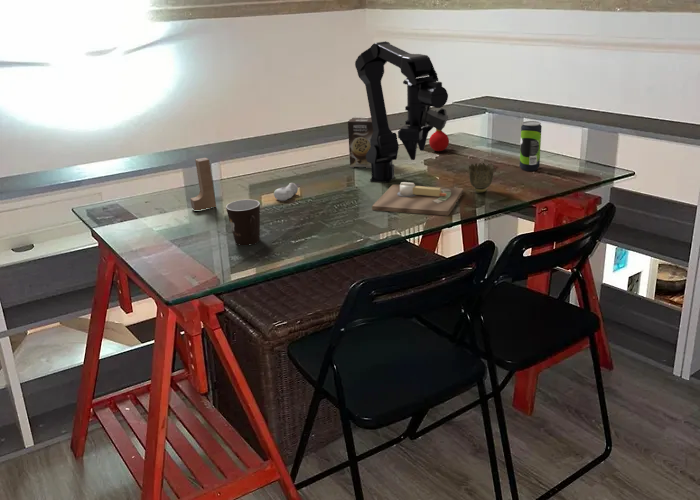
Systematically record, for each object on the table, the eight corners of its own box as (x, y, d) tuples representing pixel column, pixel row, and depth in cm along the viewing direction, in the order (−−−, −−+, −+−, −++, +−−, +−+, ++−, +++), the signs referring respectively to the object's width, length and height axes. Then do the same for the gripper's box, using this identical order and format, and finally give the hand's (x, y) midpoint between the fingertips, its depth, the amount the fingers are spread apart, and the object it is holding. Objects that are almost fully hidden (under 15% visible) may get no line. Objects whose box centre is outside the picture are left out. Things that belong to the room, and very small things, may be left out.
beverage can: (541, 167, 219) (544, 121, 213) (535, 172, 214) (538, 125, 208) (523, 165, 222) (525, 120, 216) (516, 170, 217) (518, 124, 211)
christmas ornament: (428, 153, 241) (428, 126, 238) (429, 148, 248) (429, 121, 244) (448, 153, 240) (448, 125, 236) (449, 148, 247) (449, 121, 243)
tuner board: (372, 210, 191) (371, 205, 190) (392, 188, 208) (392, 183, 207) (448, 215, 183) (448, 210, 183) (463, 192, 200) (463, 187, 200)
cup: (493, 196, 195) (494, 170, 192) (467, 196, 197) (467, 169, 194) (493, 188, 202) (494, 162, 199) (468, 188, 204) (468, 162, 200)
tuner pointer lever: (397, 195, 197) (397, 184, 196) (403, 190, 201) (402, 180, 200) (443, 199, 192) (443, 188, 190) (448, 194, 195) (448, 183, 194)
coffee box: (349, 167, 231) (346, 121, 225) (354, 162, 237) (352, 117, 230) (375, 168, 228) (372, 121, 222) (379, 163, 234) (377, 117, 228)
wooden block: (212, 205, 203) (205, 157, 197) (216, 207, 201) (209, 159, 195) (191, 209, 200) (184, 161, 194) (195, 212, 198) (187, 163, 192)
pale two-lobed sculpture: (281, 206, 202) (270, 198, 205) (301, 199, 207) (291, 191, 210) (282, 194, 200) (271, 186, 202) (303, 187, 205) (292, 179, 207)
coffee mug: (232, 236, 179) (227, 200, 175) (264, 233, 179) (260, 198, 175) (228, 253, 168) (223, 216, 164) (263, 250, 169) (258, 213, 165)
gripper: (436, 110, 179) (436, 166, 185) (453, 95, 195) (452, 148, 201) (396, 108, 183) (397, 163, 189) (416, 94, 198) (416, 145, 205)
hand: (417, 155), depth 196 cm, fingers open, 9 cm apart
